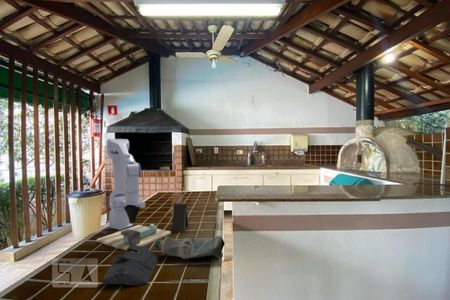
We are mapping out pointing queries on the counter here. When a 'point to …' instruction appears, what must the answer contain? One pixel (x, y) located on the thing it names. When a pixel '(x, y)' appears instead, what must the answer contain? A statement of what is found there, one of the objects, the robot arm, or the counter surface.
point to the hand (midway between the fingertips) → (132, 222)
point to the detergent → (191, 247)
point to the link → (143, 232)
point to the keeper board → (124, 245)
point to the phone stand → (180, 217)
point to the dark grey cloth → (132, 267)
